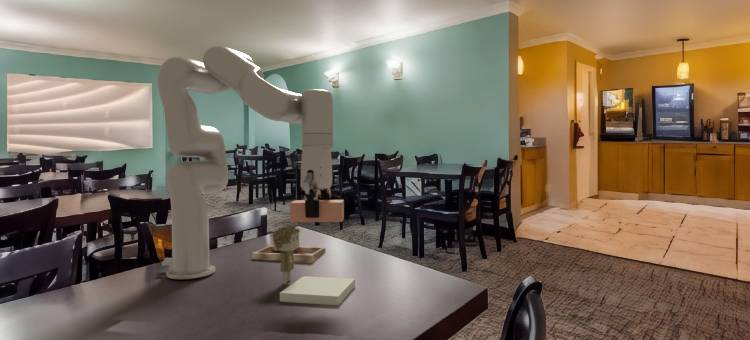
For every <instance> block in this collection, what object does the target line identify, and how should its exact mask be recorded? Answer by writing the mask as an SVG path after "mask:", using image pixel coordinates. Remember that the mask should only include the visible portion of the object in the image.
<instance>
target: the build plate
mask: <svg viewBox="0 0 750 340" xmlns="http://www.w3.org/2000/svg"><path fill="white" fill-rule="evenodd" d="M355 288H356V279H355V278H347V277H346V278H343V277H342V278H341V277H323V276H308V275H306V276H304V275H303V276H301V277H300V278H299V279H297V280H296V281H294V282H293V283H292V284H290V285H288V286H287V287H286V288H284V289H282V291H280V292H279V302H282V303H283V302H284V303H297V304H310V305H311V304H312V305H313V304H314V305H324V306H325V305H328V306H340V305H341V303H342V302H343V301H344V299H346V298H347V297H348V295H349V294H350V293H351V292H353V290H354V289H355Z"/></svg>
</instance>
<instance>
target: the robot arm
mask: <svg viewBox="0 0 750 340" xmlns="http://www.w3.org/2000/svg"><path fill="white" fill-rule="evenodd" d="M157 89H158V94H159V97H160V100H161V103H162V106H163V111H164V120H165V128H166V135H167V136H166V137H167V144H168V148H169V150H170V153H172V155H174V156H176V157H182V158H199V160H197V161H196V160H193V161H189V160H188V161H180V162H177V163H175V164H173V165H172V166H170V168H169V169H168V171H167V174H166V185H167V189H168V193H169V198H170V207H171V208H170V209H171V212H170V213H171V249H172V251H171V257H164V259H163V261H162V262H161V266H162V267H168V270H167V271H166V272H165V273H166V275H165V276H166V277H167V278H169V279H172V280H192V279H197V278H198V279H199V278H203V277H207V276H210V275H212V274H214V273H215V272H216V266H215V265H212V264H210V228H209V227H210V225H209V224H210V223H209V221H210V219H209V207H208V205H207V203H206V202H207V201H206V200H205V198H204V196H203V195H208V194H217V193H220V192H222V191H224V189H226V187H227V185H228V183H229V168H228V159H227V152H226V146H225V139H224V138H223V136H222V133H221V132H220V131H219V129H217V128H216V127H214V126H210V125H205V124H201V123H200V121H199V116H198V109H197V106H196V104H195V101H194V99H193V98H192V96H191V95H190V94H189V93H188V91H192V92H198V93H203V94H209V95H216V94H221V93H224V92H227V91H229V90H233V91H235V92H236V93H238V94H239V97H240V99H241V101H242V103H244V104H245V105H246V106H247V107H249V108H250V109H251V110H253V111H255V112H256V113H258V114H259V115H260V116H262V117H264V118H267V120H271V121H276V122H283V123H289V124H294V125H295V124H297V125H298V124H301V149H302V150H301V151H302V152H301V162H300V187H301V188H300V189H301V190H304V191H303V193H304V200H305V216H306V217H307V218H318V217H319V200H332V191H331V190H332V185H333V163H332V161H333V160H332V151H331V149H334V109H333V108H334V103H333V102H334V101H333V94H332V93H331V92H330V91H329V90H325V89H321V88H320V89H319V88H318V89H317V88H316V89H314V88H312V89H306V90H304V91H303V92H302V93H298V92H293V91H290V90H285V89H281V88H278V87H277V86H275V85H272V83H270V82H268V81H267V80H265V75H264V71H263V70H262V69H261V67H260V66H257V65H256V64H255V62H254V61H253V59H252V58H251V57H250V56H249V54H246V53H244V52H241V51H238V50H235V49H233V48H229V47H226V46H223V45H214V46H211V47H209V48H207V50H205V52H204V53H203V56H202V61H199V60H196V59H193V58H188V57H185V56H184V57H182V56H174V57H173V56H172V57H169V58H168V59H166V60H165V61H163V63H162V64H161V66H160V67H159V70H158V74H157Z"/></svg>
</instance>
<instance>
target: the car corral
mask: <svg viewBox="0 0 750 340" xmlns="http://www.w3.org/2000/svg"><path fill="white" fill-rule="evenodd" d="M326 248H327V247H321V246H299V248H297V249H295V250H297V251H299V252H302V253H305V252H307V253H305V254H293V259H294V263H306V264H307V263H308V264H313V263H314V262H315V261H317V260H319V258H320V257H321V256H323V255H324V254H325V253H327V252H326V251H327V250H326ZM273 250H275V245H268V246H266V247H264V248H261V249H259V250H256V251H254V252H252V260H259V261H260V260H261V261H275V262H276V261H277V262H281V258H280V253H267V252H270V251H273ZM308 253H311V254H308Z"/></svg>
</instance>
